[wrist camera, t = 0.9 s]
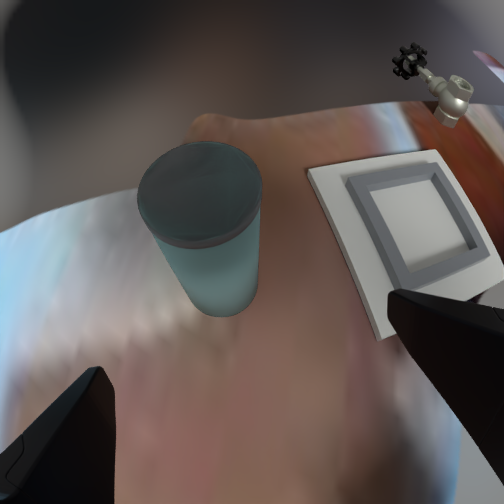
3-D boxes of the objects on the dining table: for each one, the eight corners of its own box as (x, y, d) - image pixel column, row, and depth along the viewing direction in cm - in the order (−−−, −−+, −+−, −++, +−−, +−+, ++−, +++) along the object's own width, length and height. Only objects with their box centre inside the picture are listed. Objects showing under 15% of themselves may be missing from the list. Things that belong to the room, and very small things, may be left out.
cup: (267, 306, 24) (279, 223, 13) (194, 326, 23) (143, 257, 12) (247, 242, 26) (243, 131, 15) (180, 259, 25) (134, 158, 15)
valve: (467, 127, 34) (416, 76, 39) (486, 94, 28) (428, 43, 33) (439, 132, 33) (386, 77, 38) (458, 94, 27) (397, 40, 32)
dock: (502, 280, 24) (515, 271, 22) (377, 341, 22) (388, 335, 20) (432, 155, 31) (439, 142, 29) (307, 175, 29) (310, 160, 27)
